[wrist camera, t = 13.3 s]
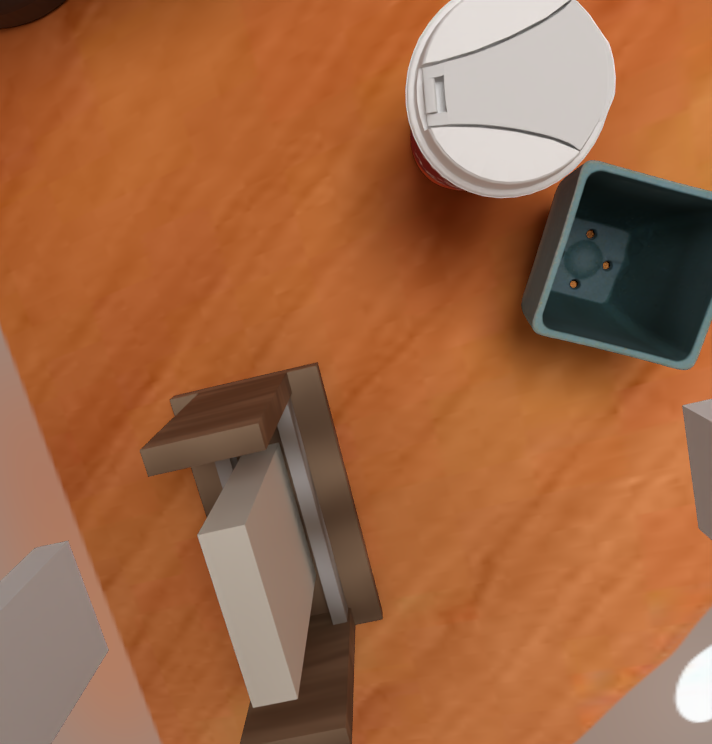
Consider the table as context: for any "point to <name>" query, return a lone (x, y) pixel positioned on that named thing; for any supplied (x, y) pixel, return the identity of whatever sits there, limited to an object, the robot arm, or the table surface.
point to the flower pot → (625, 266)
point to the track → (319, 520)
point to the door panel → (262, 574)
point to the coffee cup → (507, 94)
